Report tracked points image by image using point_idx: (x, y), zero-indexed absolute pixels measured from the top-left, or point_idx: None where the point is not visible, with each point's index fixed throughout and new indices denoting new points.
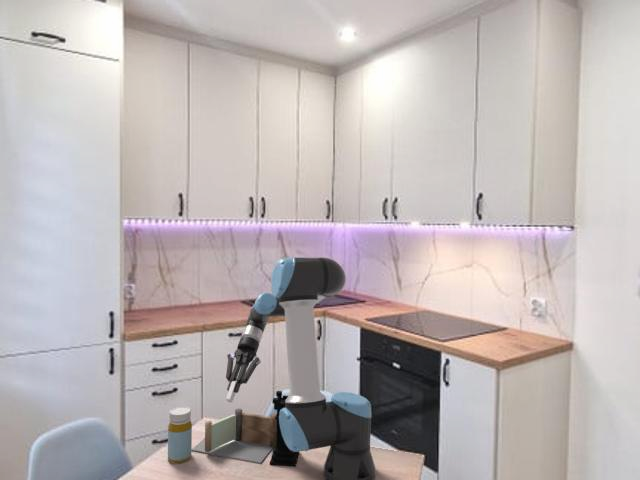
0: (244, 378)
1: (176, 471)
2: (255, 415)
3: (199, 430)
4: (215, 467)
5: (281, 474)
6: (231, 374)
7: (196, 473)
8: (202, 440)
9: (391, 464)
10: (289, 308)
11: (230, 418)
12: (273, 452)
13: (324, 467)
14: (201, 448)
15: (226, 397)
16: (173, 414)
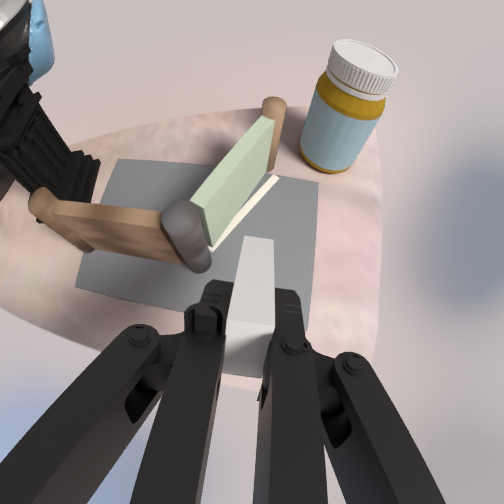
0: (126, 341)
1: (301, 113)
2: (104, 213)
3: (356, 307)
4: (223, 130)
5: (82, 141)
6: (333, 452)
7: (256, 110)
8: (314, 234)
9: None
10: None
11: (210, 177)
12: (82, 152)
13: None
14: (294, 191)
15: (271, 243)
16: (365, 43)
